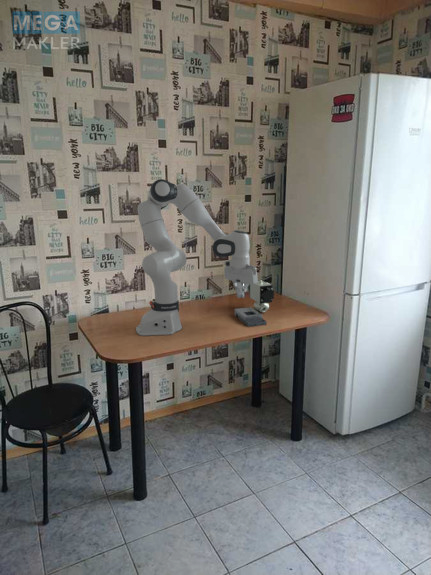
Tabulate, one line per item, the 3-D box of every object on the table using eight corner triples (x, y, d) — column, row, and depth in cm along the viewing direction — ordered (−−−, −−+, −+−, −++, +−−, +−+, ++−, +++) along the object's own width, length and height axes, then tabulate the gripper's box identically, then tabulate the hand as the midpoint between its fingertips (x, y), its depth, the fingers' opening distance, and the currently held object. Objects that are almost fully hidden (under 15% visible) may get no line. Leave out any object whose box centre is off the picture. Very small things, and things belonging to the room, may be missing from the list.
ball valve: (275, 314, 228) (276, 282, 224) (262, 316, 225) (262, 284, 221) (260, 305, 244) (261, 276, 240) (247, 307, 241) (247, 277, 237)
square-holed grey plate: (247, 326, 208) (248, 319, 208) (234, 315, 227) (234, 308, 226) (266, 324, 211) (266, 318, 210) (251, 313, 230) (251, 307, 229)
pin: (234, 297, 209) (234, 279, 207) (238, 295, 213) (238, 278, 211) (242, 298, 207) (242, 280, 205) (246, 296, 210) (246, 278, 208)
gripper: (260, 265, 200) (260, 293, 204) (231, 260, 215) (231, 286, 218) (251, 267, 196) (251, 295, 199) (222, 261, 211) (222, 288, 214)
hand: (240, 290), depth 209 cm, fingers closed on pin, 4 cm apart
